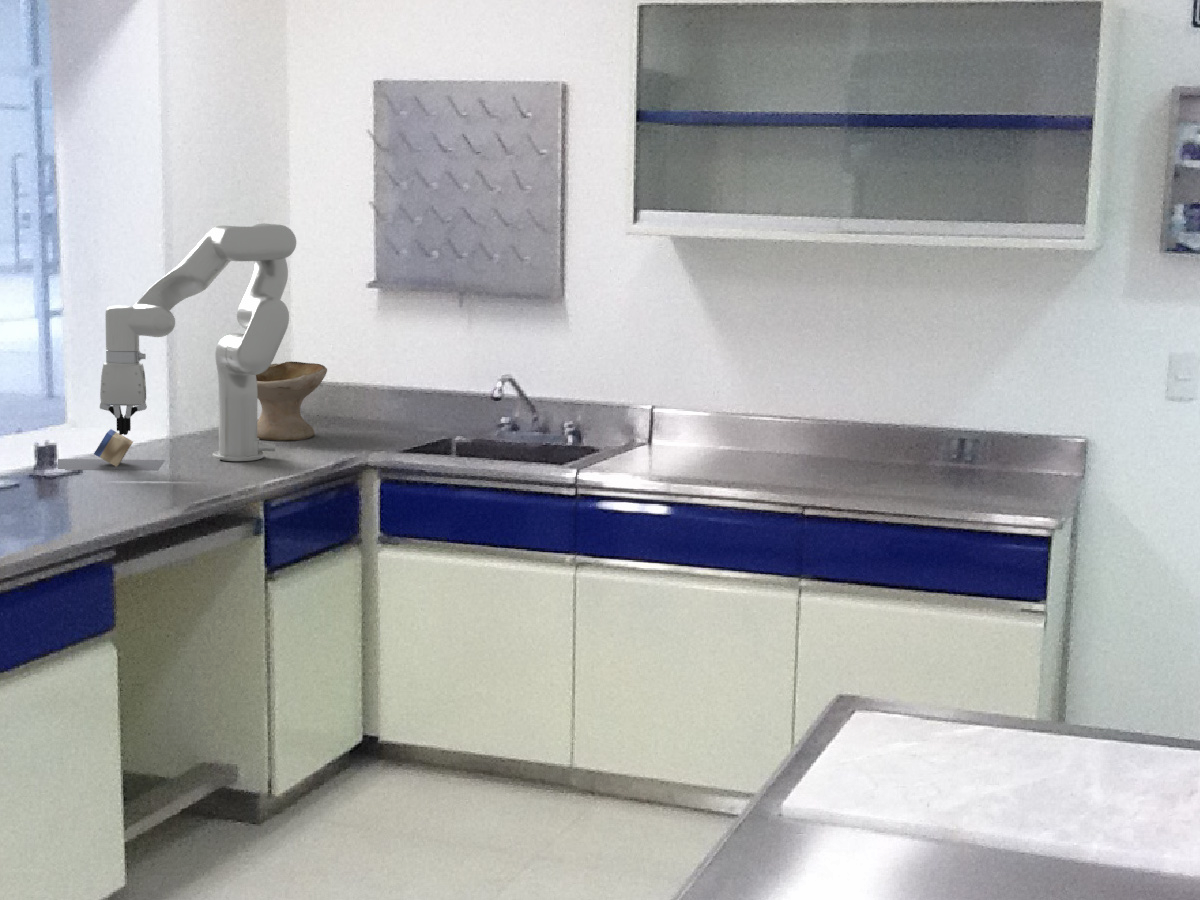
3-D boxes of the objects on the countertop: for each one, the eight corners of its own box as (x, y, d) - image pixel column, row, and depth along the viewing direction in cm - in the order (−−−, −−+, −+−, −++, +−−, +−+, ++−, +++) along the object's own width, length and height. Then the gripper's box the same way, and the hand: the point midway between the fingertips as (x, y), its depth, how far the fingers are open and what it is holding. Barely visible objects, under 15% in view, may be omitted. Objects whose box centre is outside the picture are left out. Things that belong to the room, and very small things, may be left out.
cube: (133, 441, 337) (110, 428, 336) (129, 445, 331) (106, 432, 330) (120, 462, 337) (98, 449, 336) (116, 466, 331) (93, 454, 330)
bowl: (226, 430, 396) (226, 360, 392) (314, 428, 406) (314, 360, 403) (244, 444, 373) (244, 371, 370) (336, 442, 383) (336, 370, 380)
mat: (165, 461, 343) (165, 459, 343) (157, 472, 329) (157, 470, 329) (54, 460, 338) (54, 458, 338) (42, 471, 325) (42, 469, 325)
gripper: (157, 357, 335) (158, 432, 338) (92, 355, 333) (93, 431, 336) (153, 360, 328) (154, 436, 331) (87, 358, 325) (88, 436, 328)
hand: (123, 433), depth 333 cm, fingers closed
